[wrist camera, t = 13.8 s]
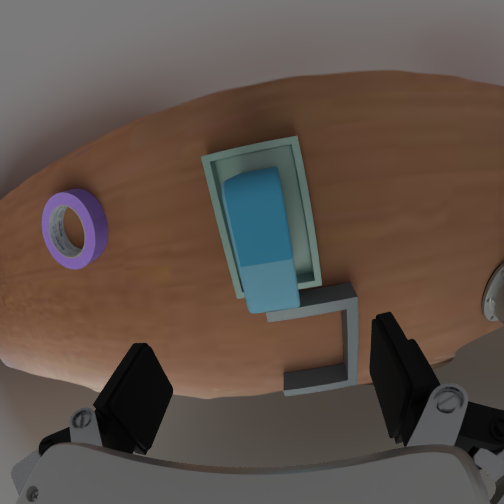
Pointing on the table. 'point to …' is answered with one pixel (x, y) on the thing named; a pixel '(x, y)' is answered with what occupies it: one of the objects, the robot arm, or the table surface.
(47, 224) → the masking tape
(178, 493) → the robot arm
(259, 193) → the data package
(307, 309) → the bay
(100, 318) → the table surface
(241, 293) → the tray
